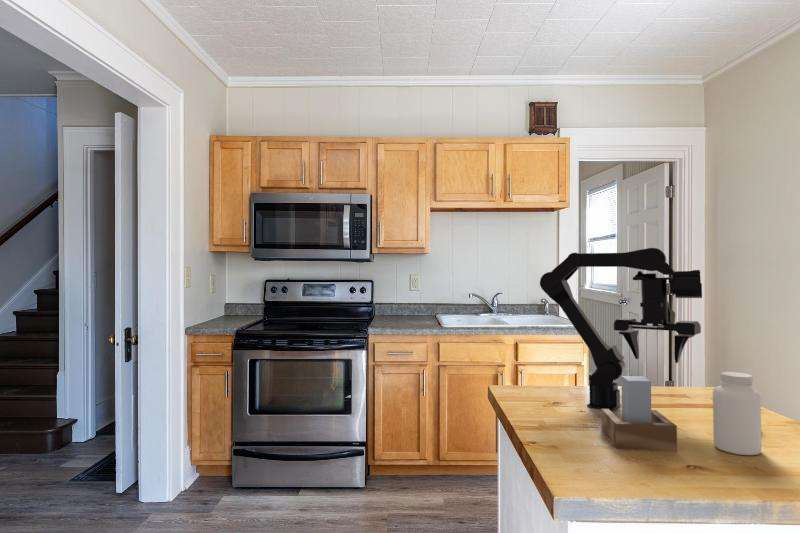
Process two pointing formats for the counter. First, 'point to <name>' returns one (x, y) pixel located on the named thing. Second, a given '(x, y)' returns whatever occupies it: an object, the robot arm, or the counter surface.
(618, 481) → the counter surface
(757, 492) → the counter surface
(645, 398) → the block
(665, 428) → the brown wooden tray
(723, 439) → the pill bottle
